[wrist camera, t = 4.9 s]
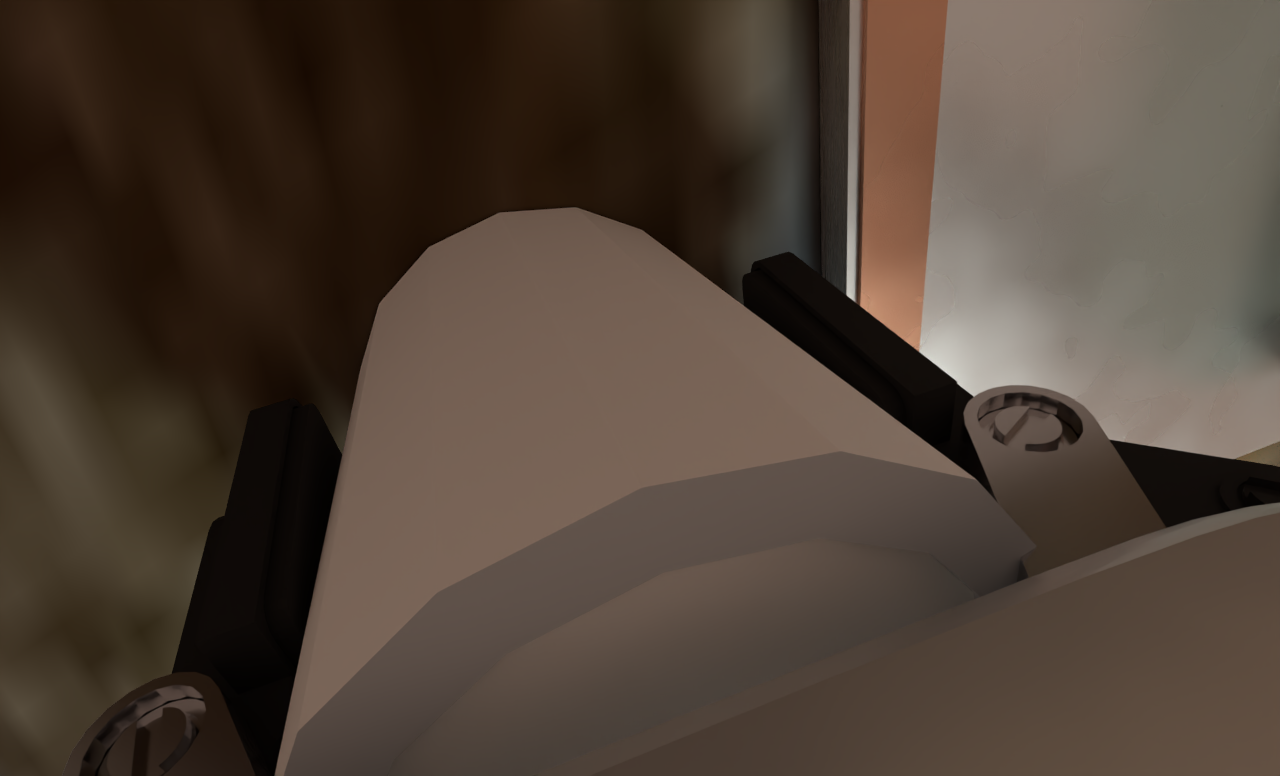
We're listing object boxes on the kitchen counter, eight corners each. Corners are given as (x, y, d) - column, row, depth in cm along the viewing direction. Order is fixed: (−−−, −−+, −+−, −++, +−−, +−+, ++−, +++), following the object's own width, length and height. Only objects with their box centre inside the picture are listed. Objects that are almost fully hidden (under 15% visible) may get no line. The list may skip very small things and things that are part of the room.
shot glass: (455, 57, 9) (603, 284, 3) (814, 292, 13) (1175, 591, 7) (238, 470, 11) (103, 1043, 5) (601, 570, 15) (748, 977, 9)
